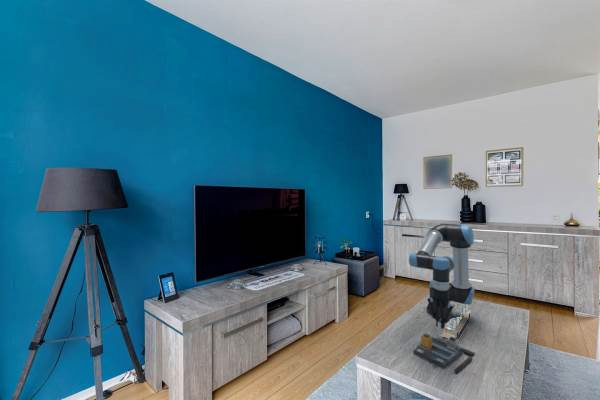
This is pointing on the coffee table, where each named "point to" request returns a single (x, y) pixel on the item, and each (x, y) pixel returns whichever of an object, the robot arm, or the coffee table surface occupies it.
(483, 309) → the coffee table surface
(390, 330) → the coffee table surface
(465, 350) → the cord front
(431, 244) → the robot arm
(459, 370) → the rod
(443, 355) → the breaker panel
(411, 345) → the coffee table surface
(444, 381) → the coffee table surface
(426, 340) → the block
